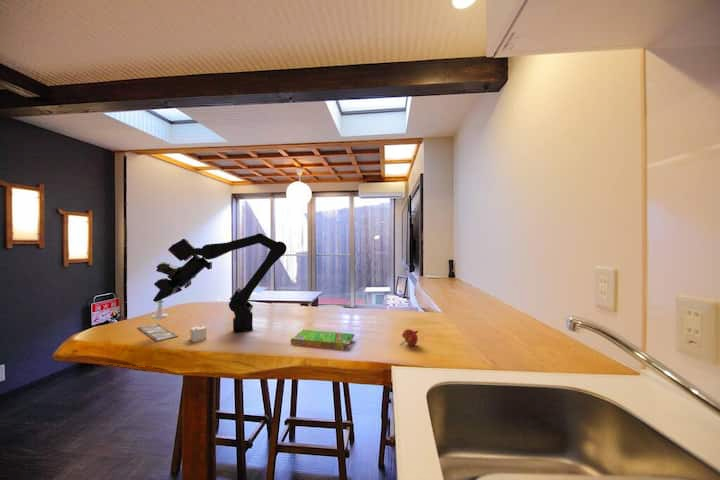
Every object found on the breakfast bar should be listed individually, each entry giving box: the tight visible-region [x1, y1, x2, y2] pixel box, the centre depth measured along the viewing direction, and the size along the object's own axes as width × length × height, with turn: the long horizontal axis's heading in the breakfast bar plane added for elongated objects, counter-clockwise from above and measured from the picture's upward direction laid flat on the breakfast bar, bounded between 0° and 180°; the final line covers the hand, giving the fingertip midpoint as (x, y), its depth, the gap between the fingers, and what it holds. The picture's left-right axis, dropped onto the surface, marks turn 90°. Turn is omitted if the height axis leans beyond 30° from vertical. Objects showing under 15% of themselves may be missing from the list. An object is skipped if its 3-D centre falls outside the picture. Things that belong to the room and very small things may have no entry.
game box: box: [290, 329, 355, 350], centre depth 92 cm, size 3×10×20 cm
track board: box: [137, 323, 179, 343], centre depth 100 cm, size 23×6×1 cm, turn 53°
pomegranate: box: [400, 328, 419, 347], centre depth 90 cm, size 6×6×8 cm
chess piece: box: [150, 299, 169, 320], centre depth 96 cm, size 5×5×10 cm
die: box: [189, 325, 208, 343], centre depth 93 cm, size 4×4×4 cm
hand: (155, 300), depth 96 cm, fingers closed on chess piece
